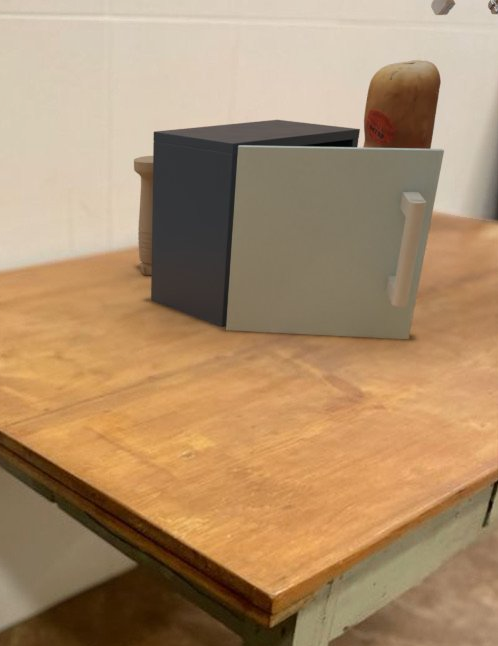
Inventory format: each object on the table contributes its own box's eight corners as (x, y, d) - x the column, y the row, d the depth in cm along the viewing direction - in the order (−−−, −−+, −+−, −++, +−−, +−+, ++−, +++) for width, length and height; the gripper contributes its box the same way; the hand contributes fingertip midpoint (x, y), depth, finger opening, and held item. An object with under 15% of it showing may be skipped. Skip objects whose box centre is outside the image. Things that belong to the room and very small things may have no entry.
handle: (175, 269, 117) (178, 156, 109) (160, 281, 112) (162, 163, 104) (144, 266, 119) (145, 154, 111) (127, 277, 114) (127, 161, 106)
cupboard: (336, 301, 104) (360, 129, 93) (221, 333, 93) (233, 143, 83) (263, 279, 113) (277, 119, 102) (150, 306, 102) (153, 131, 92)
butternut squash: (327, 222, 144) (347, 60, 130) (375, 212, 151) (399, 57, 137) (392, 236, 134) (421, 63, 121) (440, 225, 141) (473, 60, 128)
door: (414, 363, 85) (455, 158, 74) (222, 353, 88) (235, 154, 77) (406, 341, 90) (442, 148, 80) (226, 332, 93) (238, 145, 83)
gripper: (609, -122, 89) (514, -10, 102) (477, -134, 81) (392, -11, 94) (635, -78, 88) (537, 30, 101) (504, -85, 80) (415, 33, 93)
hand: (466, 10), depth 97 cm, fingers open, 8 cm apart
